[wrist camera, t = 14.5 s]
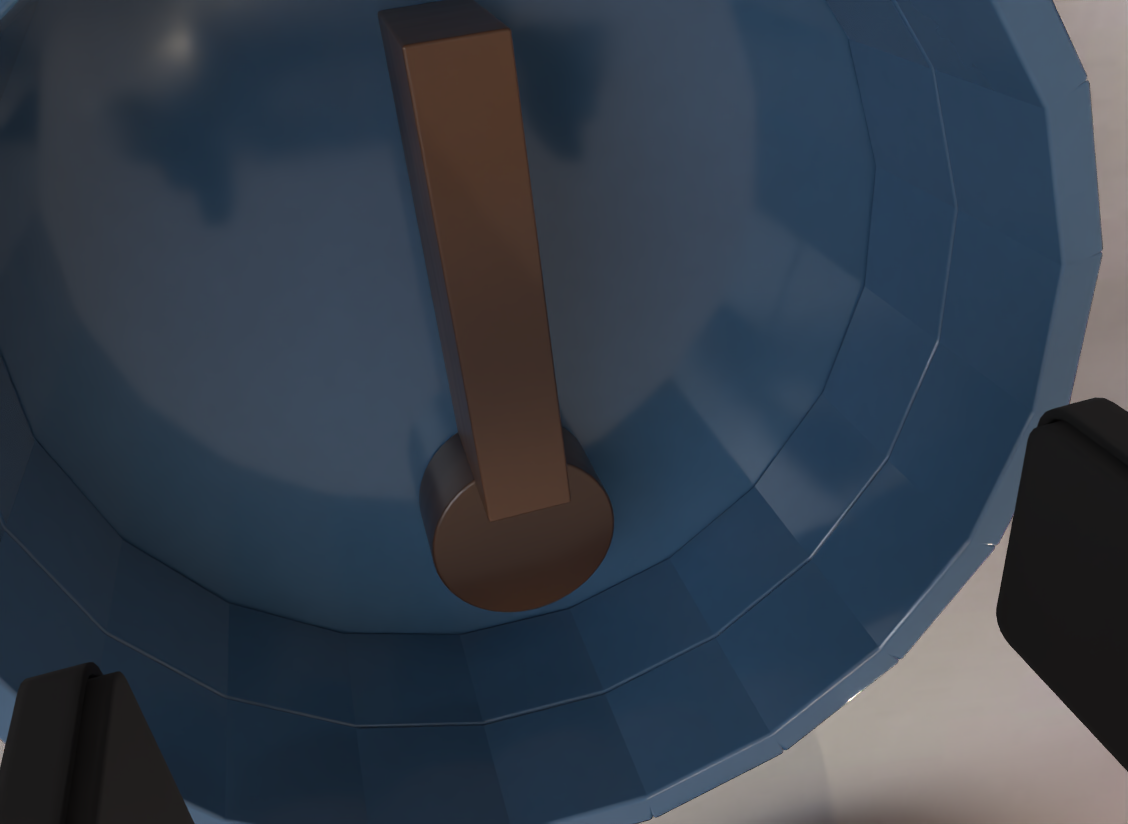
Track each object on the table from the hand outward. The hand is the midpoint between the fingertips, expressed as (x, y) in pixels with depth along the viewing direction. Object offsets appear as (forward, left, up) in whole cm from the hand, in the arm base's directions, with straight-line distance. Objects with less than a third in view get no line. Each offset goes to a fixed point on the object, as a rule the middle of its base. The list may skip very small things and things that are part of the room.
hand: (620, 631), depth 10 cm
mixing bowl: (0, 0, -10) cm, 10 cm away
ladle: (+1, +1, -10) cm, 10 cm away
